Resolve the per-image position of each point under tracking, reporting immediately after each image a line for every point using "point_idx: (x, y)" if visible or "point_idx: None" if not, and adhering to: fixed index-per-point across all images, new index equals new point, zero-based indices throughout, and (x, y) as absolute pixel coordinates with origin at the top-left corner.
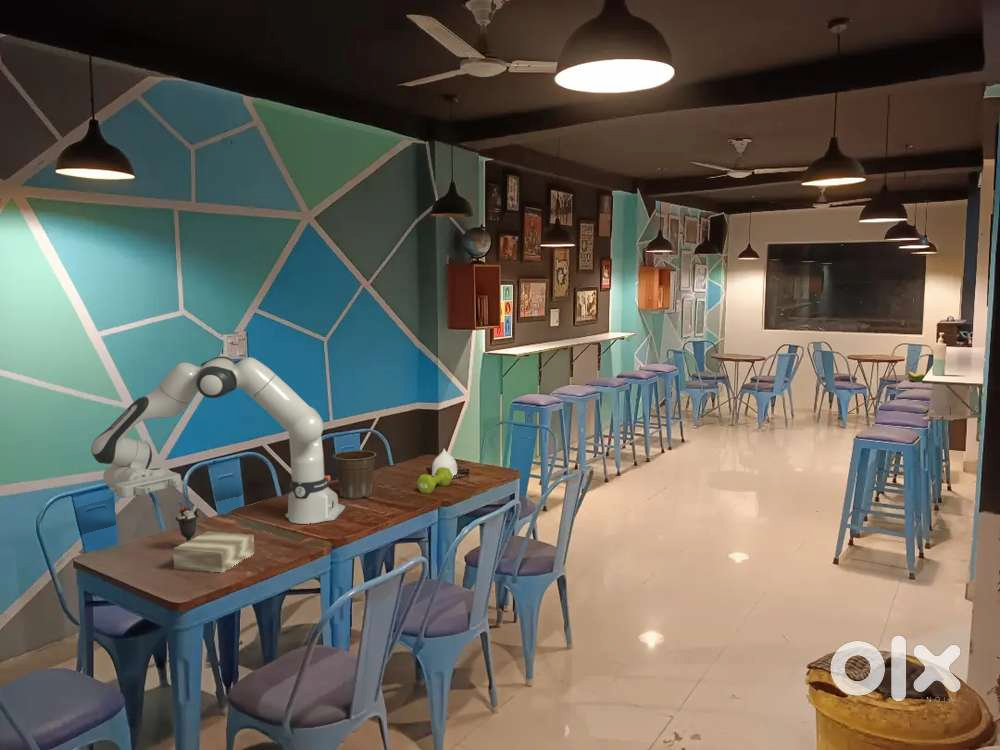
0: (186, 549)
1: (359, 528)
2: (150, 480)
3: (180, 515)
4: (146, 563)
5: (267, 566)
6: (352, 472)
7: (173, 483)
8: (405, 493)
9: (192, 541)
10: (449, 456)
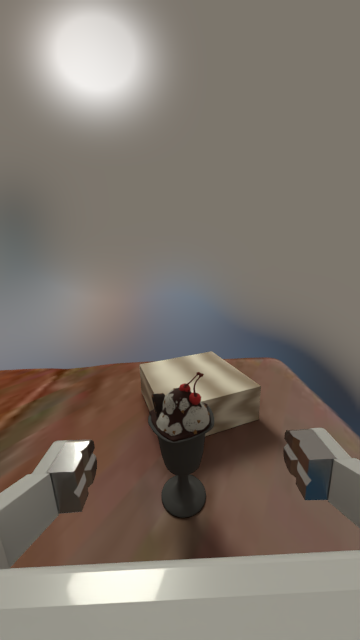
0: (242, 374)
1: (4, 375)
2: (235, 617)
3: (203, 404)
4: None
5: None
6: None
7: (91, 441)
8: None
9: (218, 390)
10: None
